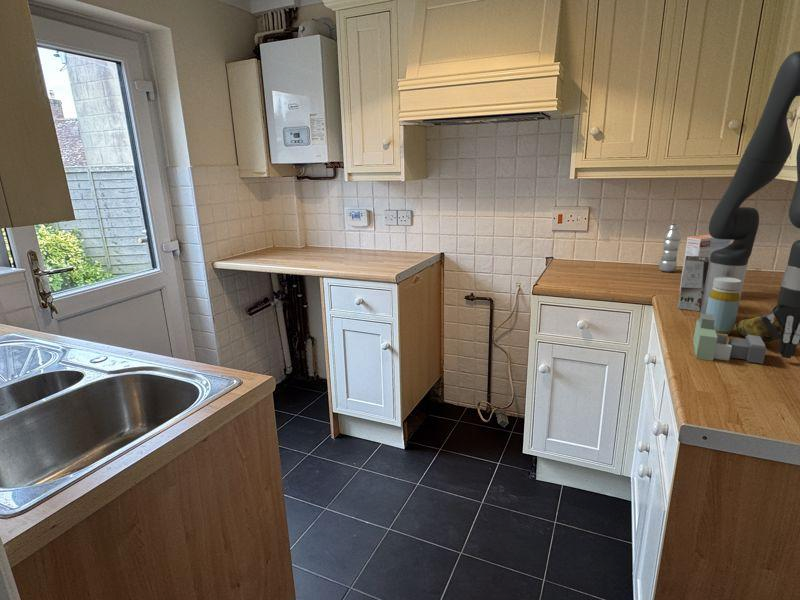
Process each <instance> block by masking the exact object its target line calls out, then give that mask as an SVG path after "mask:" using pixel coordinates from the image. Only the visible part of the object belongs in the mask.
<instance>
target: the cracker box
mask: <svg viewBox="0 0 800 600" xmlns="http://www.w3.org/2000/svg"><path fill="white" fill-rule="evenodd" d="M730 244H731V240H726V239H716V238H713V237H712V236H711V235H710V234H703V235H690V236H687V237H686V243H685V249H684V250H685V251H684V258H683V263H682V264H683V265H682V272H681V277H680V284H679V295H680V289H681V283H682V277H683V271H684V265H685V259H686V256H700V257H708V259H709V262H710V256H711V253H712V252H713V251H715V250H719V249H722V248H725V247H727V246H729V245H730ZM708 268H709V266H708ZM707 273H708V271H707ZM706 279H707V276H706ZM705 284H706V282H705ZM704 290H705V287H704ZM703 295H704V292H703Z"/></svg>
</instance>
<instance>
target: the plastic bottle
mask: <svg viewBox="0 0 800 600" xmlns="http://www.w3.org/2000/svg"><path fill="white" fill-rule="evenodd" d="M679 230H680V224H677V223H671V224H669V225H668V231H667V232H666V233H665V234H664V235H663V248H662V249H663V250H662V255H661V258H660V261H659V264H658V268H659V270H660V271H662V272H666V273H667V272H668V273H670V272H675V271H676V269H677V264H678V262H677V257H678V250H679V248H680V247H679V246H680V243H681V240H682V235H681V233H680V231H679Z"/></svg>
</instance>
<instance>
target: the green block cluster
mask: <svg viewBox="0 0 800 600" xmlns="http://www.w3.org/2000/svg"><path fill="white" fill-rule="evenodd" d="M695 322H696V323H695V328H694V335H693V340H692V343H693V349H694V355H696V356H695V359H698V360H705V361H710V362H713V361H714V359H715V360H721V361H727V362H728V361H729V362H730V358H731V357H730V353H731V348H732V346H731V345H728V343H727V342H728V339H729V338H728V337H729V335H727V334H719V333H716V331H715V328H714V322H715V320H714V317H713V315H711V314H703V313H701V316H700V315H699V319H696V321H695Z"/></svg>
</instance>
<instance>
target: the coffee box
mask: <svg viewBox="0 0 800 600" xmlns="http://www.w3.org/2000/svg"><path fill="white" fill-rule="evenodd" d="M708 266H709V259H708V257H700V256H686V259H685V265H684V271H683V277H682V276H681V277H682V283H681V282H680V283H681V289H680V288H679V290H680V294H679V298H678V303H677V308H678V309H680V310H681V309H682V310H686V311H688V310H689V311H693V312H694V311H696V312H700V311H701V305H702V300H703V292H704V287H705V282H706V276H707V271H708Z"/></svg>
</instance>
